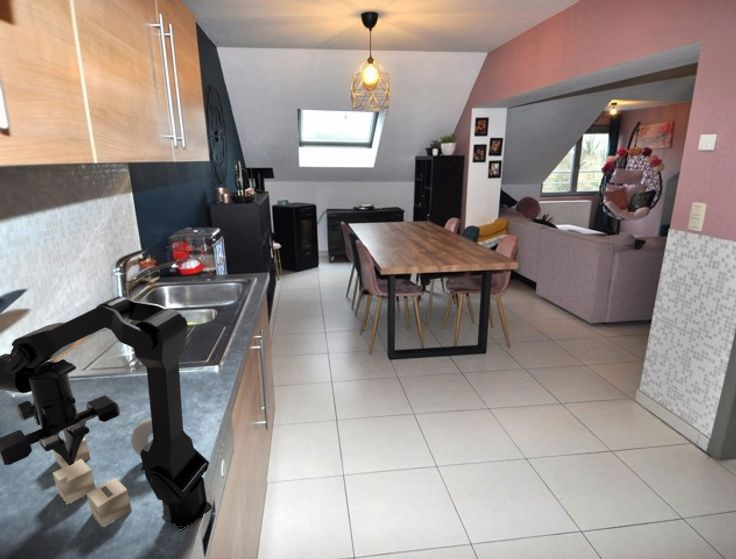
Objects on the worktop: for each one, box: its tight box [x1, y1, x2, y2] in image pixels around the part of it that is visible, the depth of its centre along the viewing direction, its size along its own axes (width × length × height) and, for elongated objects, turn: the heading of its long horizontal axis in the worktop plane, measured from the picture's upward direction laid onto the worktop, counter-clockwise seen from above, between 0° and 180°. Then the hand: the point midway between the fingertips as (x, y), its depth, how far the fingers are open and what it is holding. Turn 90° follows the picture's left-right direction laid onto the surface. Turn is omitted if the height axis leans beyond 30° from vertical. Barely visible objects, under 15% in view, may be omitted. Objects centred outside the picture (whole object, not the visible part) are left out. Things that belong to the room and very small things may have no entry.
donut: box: [130, 417, 153, 456], centre depth 94 cm, size 10×4×10 cm, turn 105°
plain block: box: [52, 459, 97, 505], centre depth 85 cm, size 5×5×5 cm
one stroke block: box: [86, 477, 133, 528], centre depth 80 cm, size 5×5×5 cm
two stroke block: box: [52, 435, 91, 469], centre depth 94 cm, size 5×5×5 cm
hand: (70, 464), depth 84 cm, fingers closed
